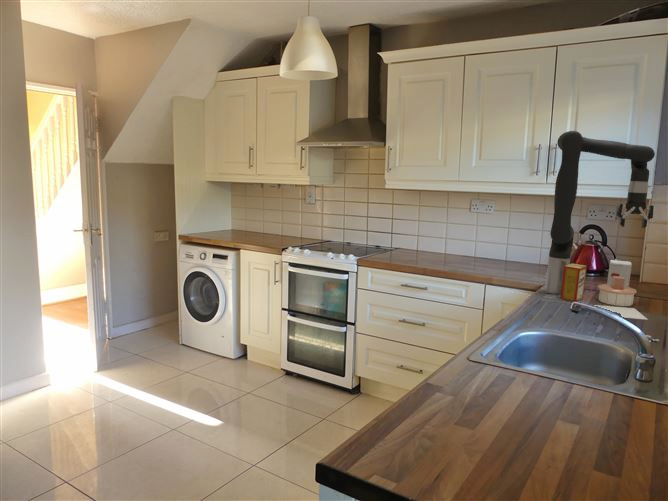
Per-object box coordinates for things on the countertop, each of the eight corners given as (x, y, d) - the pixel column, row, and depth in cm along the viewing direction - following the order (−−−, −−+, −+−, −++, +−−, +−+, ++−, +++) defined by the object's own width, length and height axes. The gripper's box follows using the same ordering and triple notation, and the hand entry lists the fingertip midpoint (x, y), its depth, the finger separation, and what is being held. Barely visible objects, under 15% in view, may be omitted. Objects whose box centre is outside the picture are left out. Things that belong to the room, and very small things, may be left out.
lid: (603, 292, 217) (604, 279, 216) (593, 284, 231) (595, 272, 230) (641, 295, 213) (643, 282, 212) (629, 287, 228) (631, 275, 227)
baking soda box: (575, 302, 222) (579, 267, 219) (560, 299, 226) (564, 265, 223) (582, 299, 228) (587, 264, 226) (568, 296, 233) (572, 262, 230)
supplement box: (606, 292, 242) (610, 262, 239) (606, 288, 250) (610, 259, 247) (627, 295, 238) (632, 264, 235) (627, 291, 245) (631, 261, 243)
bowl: (603, 305, 218) (605, 292, 217) (595, 298, 231) (597, 285, 230) (636, 308, 216) (638, 295, 214) (626, 300, 228) (628, 287, 227)
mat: (603, 316, 202) (604, 315, 202) (593, 306, 217) (593, 304, 217) (647, 321, 198) (648, 319, 198) (634, 309, 213) (634, 308, 213)
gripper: (622, 191, 223) (618, 227, 226) (658, 192, 220) (653, 229, 223) (617, 190, 230) (613, 225, 233) (652, 191, 227) (647, 227, 230)
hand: (632, 227), depth 228 cm, fingers open, 8 cm apart
